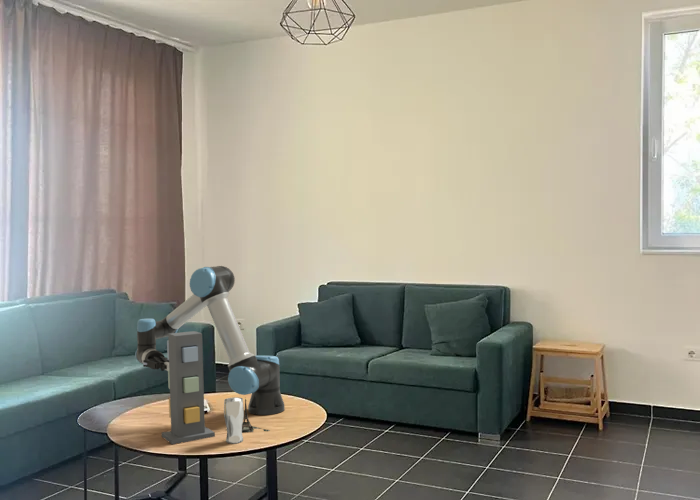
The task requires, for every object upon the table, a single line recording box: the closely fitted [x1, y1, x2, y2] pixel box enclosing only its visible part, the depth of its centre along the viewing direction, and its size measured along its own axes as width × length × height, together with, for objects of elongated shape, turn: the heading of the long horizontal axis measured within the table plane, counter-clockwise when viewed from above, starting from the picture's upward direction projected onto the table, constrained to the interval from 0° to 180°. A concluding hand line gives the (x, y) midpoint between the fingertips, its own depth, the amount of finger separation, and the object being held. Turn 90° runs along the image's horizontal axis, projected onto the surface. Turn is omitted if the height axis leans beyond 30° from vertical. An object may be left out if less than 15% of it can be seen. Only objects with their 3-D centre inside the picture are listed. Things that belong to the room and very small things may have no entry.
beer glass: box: [223, 396, 245, 445], centre depth 243 cm, size 7×7×15 cm
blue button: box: [166, 340, 198, 362], centre depth 252 cm, size 16×7×7 cm, turn 32°
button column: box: [161, 330, 216, 445], centre depth 250 cm, size 12×16×38 cm
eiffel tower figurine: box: [225, 396, 271, 434], centre depth 256 cm, size 15×10×13 cm
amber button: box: [168, 398, 200, 424], centre depth 252 cm, size 16×7×7 cm, turn 32°
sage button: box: [167, 370, 199, 393], centre depth 252 cm, size 16×7×7 cm, turn 32°
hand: (171, 368), depth 263 cm, fingers closed
